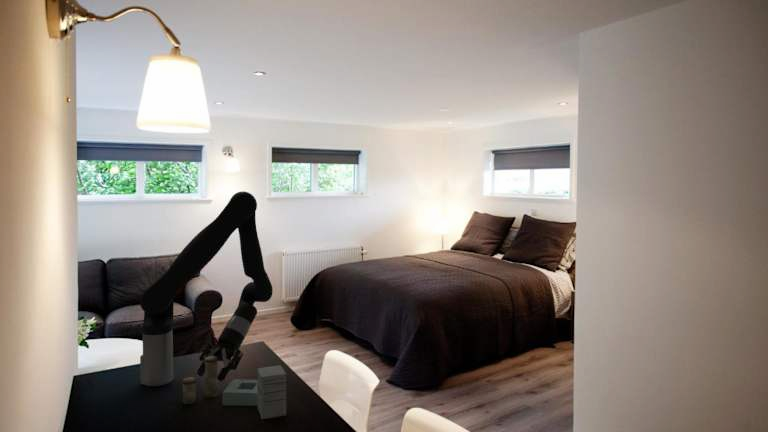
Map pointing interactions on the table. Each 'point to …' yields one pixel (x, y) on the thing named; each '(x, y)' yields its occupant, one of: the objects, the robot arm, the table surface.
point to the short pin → (189, 390)
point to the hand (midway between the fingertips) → (209, 377)
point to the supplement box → (271, 391)
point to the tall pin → (211, 376)
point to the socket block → (241, 393)
